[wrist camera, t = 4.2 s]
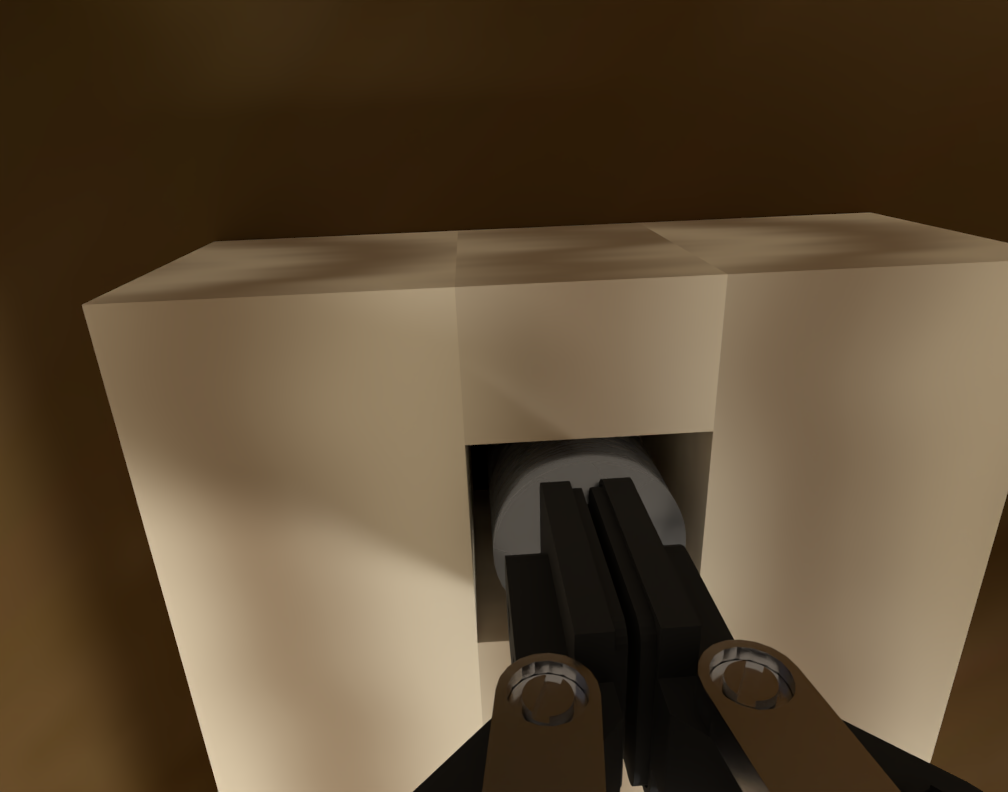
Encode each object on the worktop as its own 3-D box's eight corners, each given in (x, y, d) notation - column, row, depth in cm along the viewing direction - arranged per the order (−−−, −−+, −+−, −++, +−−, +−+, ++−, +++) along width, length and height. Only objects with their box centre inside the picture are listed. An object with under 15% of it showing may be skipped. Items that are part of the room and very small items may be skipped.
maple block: (870, 212, 17) (1075, 257, 11) (768, 820, 25) (855, 1020, 19) (214, 241, 16) (81, 304, 10) (335, 855, 24) (296, 1071, 19)
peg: (624, 357, 17) (693, 457, 12) (619, 481, 18) (679, 620, 13) (481, 364, 17) (489, 469, 12) (487, 489, 18) (497, 632, 13)
